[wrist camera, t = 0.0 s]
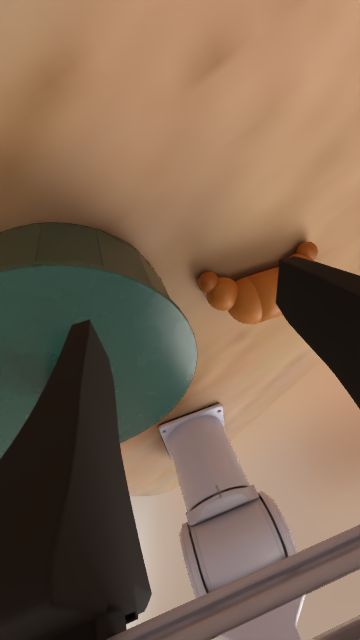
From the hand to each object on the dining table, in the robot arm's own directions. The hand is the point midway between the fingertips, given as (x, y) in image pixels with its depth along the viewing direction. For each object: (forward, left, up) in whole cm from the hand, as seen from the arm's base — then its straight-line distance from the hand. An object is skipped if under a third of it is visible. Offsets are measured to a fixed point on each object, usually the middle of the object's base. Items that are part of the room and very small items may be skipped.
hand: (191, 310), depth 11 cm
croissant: (-8, -8, -10) cm, 15 cm away
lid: (-6, +7, -4) cm, 10 cm away
